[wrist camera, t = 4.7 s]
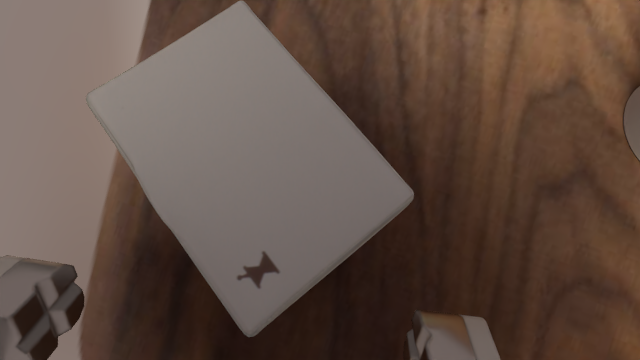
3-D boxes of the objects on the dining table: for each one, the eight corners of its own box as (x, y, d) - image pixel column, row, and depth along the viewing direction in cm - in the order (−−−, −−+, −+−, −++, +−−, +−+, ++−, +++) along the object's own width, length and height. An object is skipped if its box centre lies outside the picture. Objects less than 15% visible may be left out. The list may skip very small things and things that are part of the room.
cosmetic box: (358, 247, 19) (429, 201, 7) (291, 303, 18) (244, 353, 6) (286, 158, 20) (242, -12, 8) (220, 206, 19) (69, 97, 7)
